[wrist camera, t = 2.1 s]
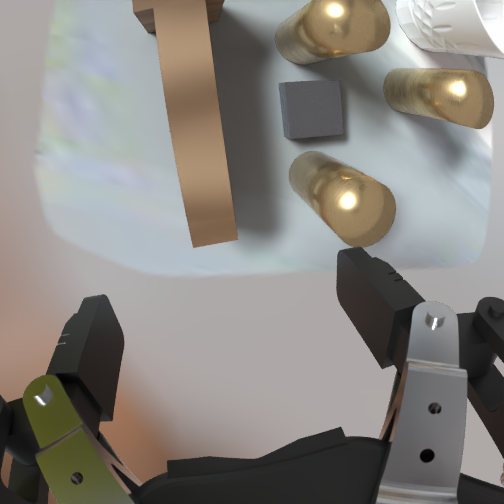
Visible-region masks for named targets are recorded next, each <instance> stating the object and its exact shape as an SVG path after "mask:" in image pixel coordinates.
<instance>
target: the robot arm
mask: <svg viewBox="0 0 504 504" xmlns="http://www.w3.org/2000/svg"><path fill="white" fill-rule="evenodd" d="M336 288H337V296H338V300H339V302H340V305H341V306H342V308H343V309H344V311H345V312H346V314H347V315H348V317H349V318H350V320H351V321H352V323H353V324H354V326H355V327H356V329H357V331H358V332H359V334H360V335H361V337H362V338H363V340H364V341H365V343H366V345H367V346H368V348H369V349H370V351H371V352H372V354H373V356H374V357H375V359H376V360H377V362H378V363H379V365H380V367H381V368H382V369H384V368H386V367H389V366H392V365H395V367H396V368H397V372H396V375H395V380H394V385H393V389H392V393H391V397H390V402H389V406H388V410H387V414H386V418H385V421H384V425H383V428H382V430H381V433H380V436H379V439H375V438H371V437H359V436H357V437H356V436H350V437H345V435H344V432H343V430H342V428H341V427H339V428H335V429H332V430H329V431H326V432H322V433H319V434H316V435H312V436H308V437H305V438H301V439H298V440H296V441H294V442H292V443H291V444H288V445H286V446H284V447H282V448H280V449H278V450H276V451H274V452H271V453H269V454H267V455H265V456H263V457H260V458H257V459H240V458H223V457H211V456H208V457H200V458H191V459H181V460H168V461H167V470H168V472H165V473H162V474H160V475H158V476H156V477H154V478H152V479H150V480H148V481H147V482H145V483H144V484H142V483H141V482H140V481H139V480H138V479H137V478H136V477H135V476H134V475H133V474H132V473H131V471H130V470H129V469H128V468H127V466H126V465H125V464H124V463H123V461H122V460H121V459H120V457H119V456H118V455H117V454H116V452H115V451H114V449H113V448H112V447H111V445H110V444H109V443H108V441H107V440H106V438H105V437H104V435H103V434H102V433H101V431H100V430H99V424H100V422H101V421H112V420H113V412H114V405H115V398H116V391H117V384H118V378H119V372H120V366H121V361H122V355H123V350H124V335H123V332H122V329H121V326H120V324H119V322H118V320H117V317H116V315H115V313H114V311H113V308H112V306H111V304H110V302H109V299H108V297H107V296H106V295H104V294H103V295H97V296H91V297H86V298H84V299H83V301H82V304H81V306H80V309H79V311H78V313H76V314H74V315H73V316H72V317H71V318H70V319H69V320H68V322H67V323H66V324H65V326H64V329H63V331H62V334H61V337H60V338H59V341H58V345H57V346H56V348H55V351H54V354H53V356H52V359H51V362H50V364H49V367H48V370H47V372H46V375H42V376H40V377H37V378H36V379H34V380H33V381H32V382H30V384H29V385H28V386H27V387H26V389H25V391H24V394H23V398H20V399H17V400H13V401H10V402H6V401H5V400H4V399H3V398H2V396H1V395H0V504H48V492H49V488H50V490H51V492H52V494H53V496H54V498H55V500H56V502H57V503H58V504H504V488H503V487H500V486H497V485H494V484H490V483H488V482H485V481H482V480H479V479H476V478H473V477H471V476H468V475H465V474H463V473H460V469H461V462H462V455H463V446H464V437H465V426H466V409H467V398H468V399H469V401H470V402H471V404H472V406H473V407H474V409H475V410H476V412H477V414H478V415H479V417H480V419H481V420H482V422H483V423H484V425H485V427H486V429H487V430H488V432H489V434H490V435H491V437H492V439H493V441H494V442H495V444H496V446H497V447H498V449H499V451H500V453H501V455H502V457H503V458H504V377H503V376H502V374H501V373H500V372H499V371H498V369H497V368H496V366H495V365H494V364H493V363H494V361H495V359H496V358H497V356H498V357H499V358H500V359H501V360H502V362H503V363H504V301H503V300H502V299H499V298H495V297H485V298H483V299H481V300H480V301H479V303H478V305H477V308H476V311H475V312H473V313H462V314H456V313H455V312H454V311H453V309H451V308H450V307H449V306H447V305H445V304H443V303H440V302H436V301H435V302H434V301H428V302H426V301H425V300H424V299H423V298H422V297H421V296H420V295H419V294H418V293H417V292H416V291H415V289H414V288H413V287H411V285H409V283H408V282H407V281H405V280H403V277H402V276H401V275H400V274H399V273H396V270H394V269H393V268H392V267H391V266H390V265H389V264H388V263H387V262H385V261H383V260H381V259H378V258H376V257H374V258H372V257H371V256H370V255H369V254H368V253H367V252H366V251H365V250H364V249H363V248H362V247H360V246H358V247H353V248H349V249H344V250H340V251H339V252H338V255H337V286H336ZM5 451H6V452H8V453H9V454H10V455H11V456H12V457H13V460H12V465H11V472H10V478H9V485H8V488H7V487H6V486H5V485H4V484H3V482H2V479H1V467H2V462H3V456H4V452H5ZM500 480H501V483H502V485H504V464H503V473H502V475H501V478H500Z"/></svg>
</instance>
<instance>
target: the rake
mask: <svg viewBox="0 0 504 504" xmlns="http://www.w3.org/2000/svg"><path fill="white" fill-rule="evenodd" d="M132 2H133V13H134V14H135V15H136V17H137V18H138V20H139V21H140V22H141V24H142V25H143V26H144V28H145V29H146V31H147V32H148V33H151V32H156V37H157V45H158V53H159V60H160V68H161V75H162V82H163V89H164V95H165V102H166V108H167V115H168V121H169V127H170V133H171V138H172V144H173V150H174V155H175V161H176V166H177V172H178V177H179V182H180V187H181V192H182V197H183V202H184V207H185V212H186V217H187V221H188V226H189V231H190V235H191V240H192V245H193V248H195V247H201V246H206V245H212V244H217V243H222V242H228V241H233V240H238V236H237V229H236V222H235V216H234V209H233V202H232V195H231V188H230V181H229V174H228V167H227V160H226V153H225V146H224V139H223V132H222V124H221V117H220V110H219V102H218V95H217V88H216V80H215V72H214V65H213V57H212V50H211V42H210V34H209V26H208V23H209V22H217V21H218V18H219V15H220V12H221V9H222V6H223V3H224V0H132Z"/></svg>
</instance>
